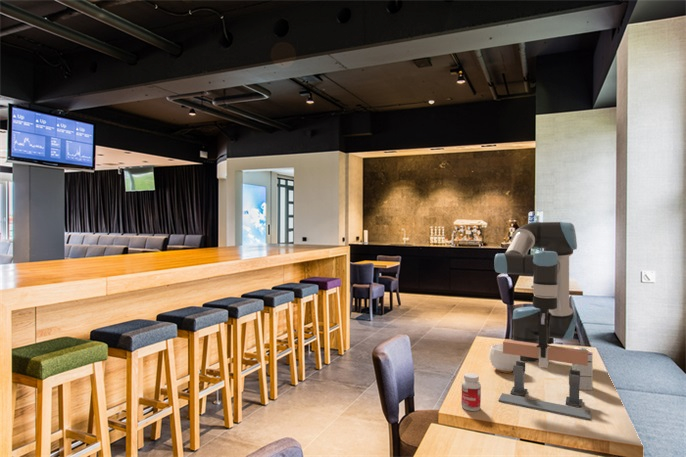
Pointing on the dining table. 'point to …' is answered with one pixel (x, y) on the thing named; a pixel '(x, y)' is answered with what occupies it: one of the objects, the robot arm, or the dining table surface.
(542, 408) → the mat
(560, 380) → the dining table surface
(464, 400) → the pill bottle
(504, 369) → the cup
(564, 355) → the rail
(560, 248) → the robot arm
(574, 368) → the syrup box
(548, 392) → the dining table surface
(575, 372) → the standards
